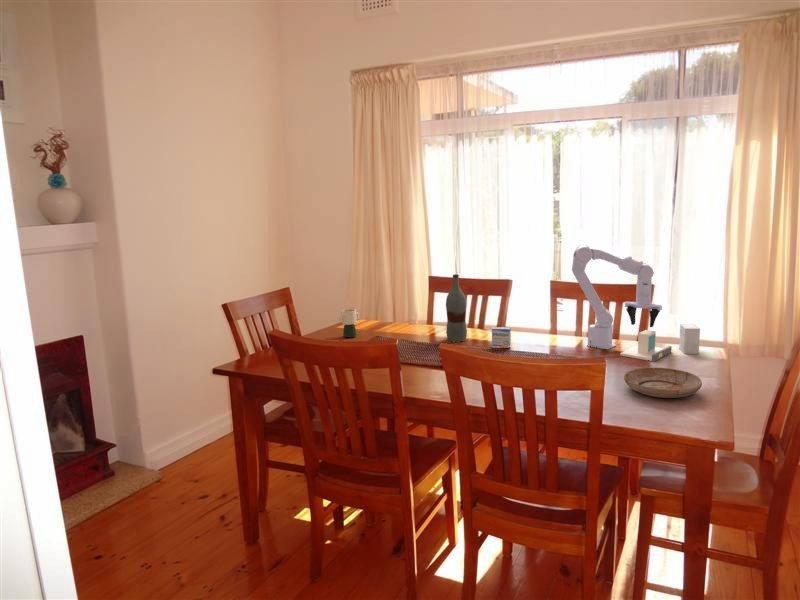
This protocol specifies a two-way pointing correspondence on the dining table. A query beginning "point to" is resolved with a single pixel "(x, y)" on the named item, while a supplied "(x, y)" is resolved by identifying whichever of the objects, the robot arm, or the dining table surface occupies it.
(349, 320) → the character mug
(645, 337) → the carton
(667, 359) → the dining table surface
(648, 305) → the robot arm
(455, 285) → the bottle
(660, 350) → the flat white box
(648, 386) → the ceramic bowl
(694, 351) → the small box
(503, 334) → the medicine box
